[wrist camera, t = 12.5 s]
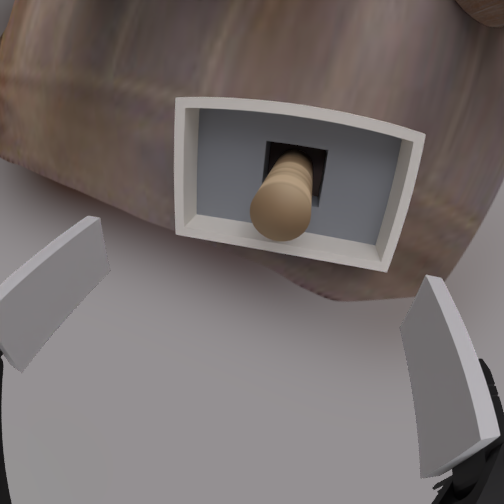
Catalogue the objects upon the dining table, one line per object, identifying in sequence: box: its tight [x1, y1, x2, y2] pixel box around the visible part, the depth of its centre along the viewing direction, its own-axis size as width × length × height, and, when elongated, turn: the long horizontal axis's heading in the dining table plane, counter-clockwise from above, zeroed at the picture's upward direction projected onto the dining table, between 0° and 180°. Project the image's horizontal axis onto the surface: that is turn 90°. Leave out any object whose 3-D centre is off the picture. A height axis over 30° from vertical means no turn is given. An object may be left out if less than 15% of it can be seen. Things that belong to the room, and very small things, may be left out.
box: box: [174, 97, 426, 272], centre depth 27 cm, size 22×14×7 cm, turn 85°
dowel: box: [250, 149, 313, 241], centre depth 24 cm, size 4×4×14 cm
